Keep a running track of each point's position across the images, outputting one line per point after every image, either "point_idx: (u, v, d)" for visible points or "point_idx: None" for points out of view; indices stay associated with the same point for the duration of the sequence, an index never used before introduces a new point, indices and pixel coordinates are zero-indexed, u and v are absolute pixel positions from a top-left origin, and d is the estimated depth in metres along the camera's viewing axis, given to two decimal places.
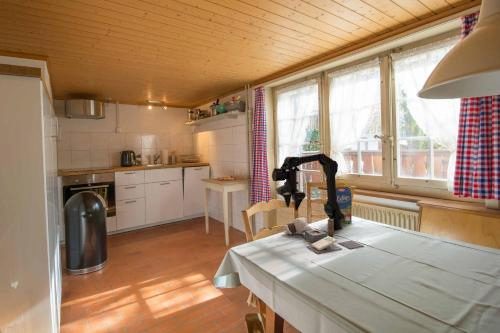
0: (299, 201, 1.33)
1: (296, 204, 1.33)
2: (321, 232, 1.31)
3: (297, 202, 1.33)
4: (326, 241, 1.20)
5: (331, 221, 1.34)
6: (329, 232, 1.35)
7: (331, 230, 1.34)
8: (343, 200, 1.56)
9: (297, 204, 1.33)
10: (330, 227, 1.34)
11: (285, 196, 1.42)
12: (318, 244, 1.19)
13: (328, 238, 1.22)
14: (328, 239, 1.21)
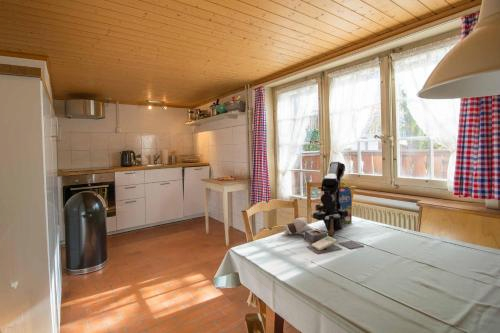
0: (327, 222, 1.33)
1: (325, 224, 1.35)
2: (321, 232, 1.31)
3: (326, 222, 1.34)
4: (326, 241, 1.20)
5: (331, 221, 1.34)
6: (329, 232, 1.35)
7: (331, 230, 1.34)
8: (343, 200, 1.56)
9: (326, 224, 1.34)
10: (330, 227, 1.34)
11: (332, 218, 1.37)
12: (318, 244, 1.19)
13: (328, 238, 1.22)
14: (328, 239, 1.21)
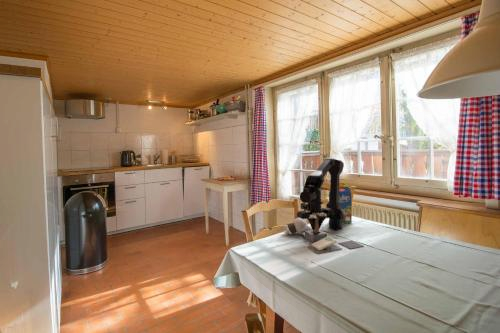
0: (311, 221, 1.29)
1: (310, 223, 1.31)
2: (321, 232, 1.31)
3: (311, 221, 1.30)
4: (326, 241, 1.20)
5: (316, 220, 1.30)
6: (314, 231, 1.30)
7: (316, 229, 1.30)
8: (343, 200, 1.56)
9: (311, 223, 1.30)
10: (315, 226, 1.30)
11: (317, 217, 1.33)
12: (318, 244, 1.19)
13: (328, 238, 1.22)
14: (328, 239, 1.21)
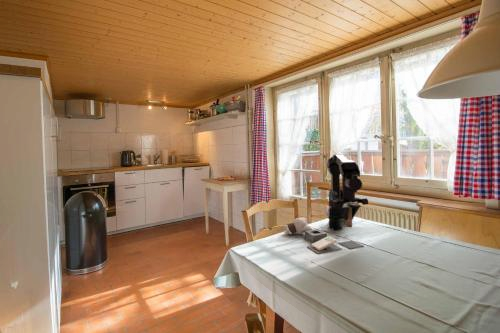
0: (345, 210, 1.20)
1: (343, 213, 1.22)
2: (321, 232, 1.31)
3: (344, 211, 1.21)
4: (326, 241, 1.20)
5: (349, 209, 1.21)
6: (347, 222, 1.22)
7: (349, 219, 1.21)
8: None
9: (344, 213, 1.22)
10: (348, 216, 1.21)
11: (350, 206, 1.24)
12: (318, 244, 1.19)
13: (328, 238, 1.22)
14: (328, 239, 1.21)
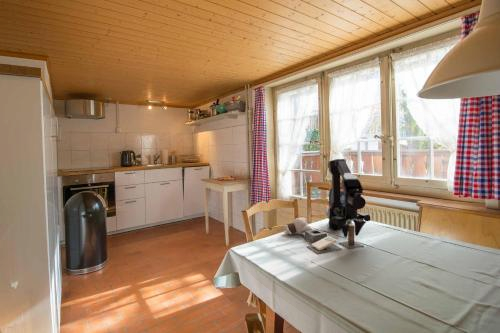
0: (344, 228, 1.20)
1: (342, 230, 1.22)
2: (321, 232, 1.31)
3: (343, 228, 1.21)
4: (326, 241, 1.20)
5: (352, 227, 1.21)
6: (350, 239, 1.22)
7: (352, 237, 1.22)
8: (344, 200, 1.56)
9: (343, 230, 1.21)
10: (351, 234, 1.22)
11: (355, 222, 1.25)
12: (318, 244, 1.19)
13: (328, 238, 1.22)
14: (328, 239, 1.21)
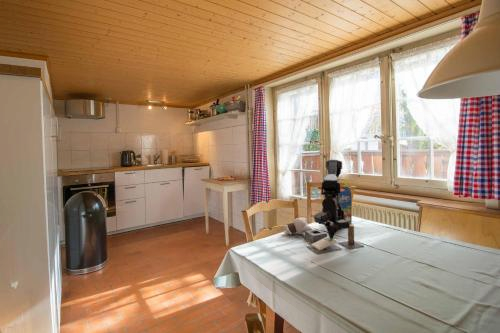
0: (335, 228, 1.20)
1: (332, 232, 1.20)
2: (321, 232, 1.31)
3: (333, 229, 1.20)
4: (326, 241, 1.20)
5: (352, 227, 1.21)
6: (349, 239, 1.22)
7: (352, 237, 1.22)
8: (343, 200, 1.56)
9: (333, 232, 1.20)
10: (351, 234, 1.21)
11: (328, 225, 1.21)
12: (318, 244, 1.19)
13: (328, 238, 1.22)
14: (328, 239, 1.21)
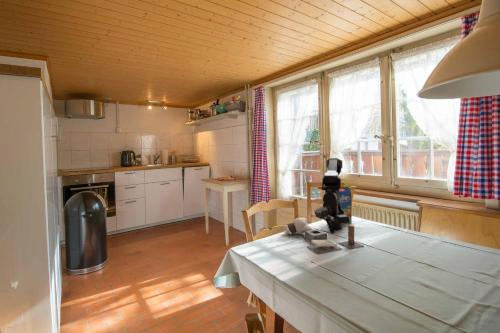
0: (335, 223, 1.22)
1: (332, 226, 1.22)
2: (321, 232, 1.31)
3: (333, 224, 1.22)
4: (326, 242, 1.20)
5: (352, 227, 1.21)
6: (349, 239, 1.22)
7: (352, 237, 1.21)
8: (344, 200, 1.56)
9: (333, 226, 1.22)
10: (351, 234, 1.21)
11: None
12: (318, 241, 1.19)
13: (329, 241, 1.22)
14: (329, 241, 1.21)
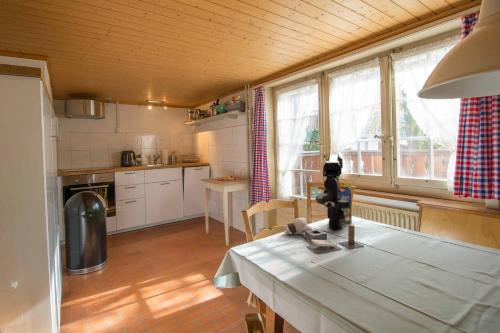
0: (336, 209, 1.24)
1: (333, 212, 1.24)
2: (321, 232, 1.31)
3: (334, 210, 1.24)
4: (326, 242, 1.20)
5: (352, 227, 1.21)
6: (350, 239, 1.22)
7: (352, 237, 1.22)
8: None
9: (334, 212, 1.25)
10: (351, 234, 1.22)
11: None
12: (318, 241, 1.19)
13: (329, 241, 1.22)
14: (329, 241, 1.21)
